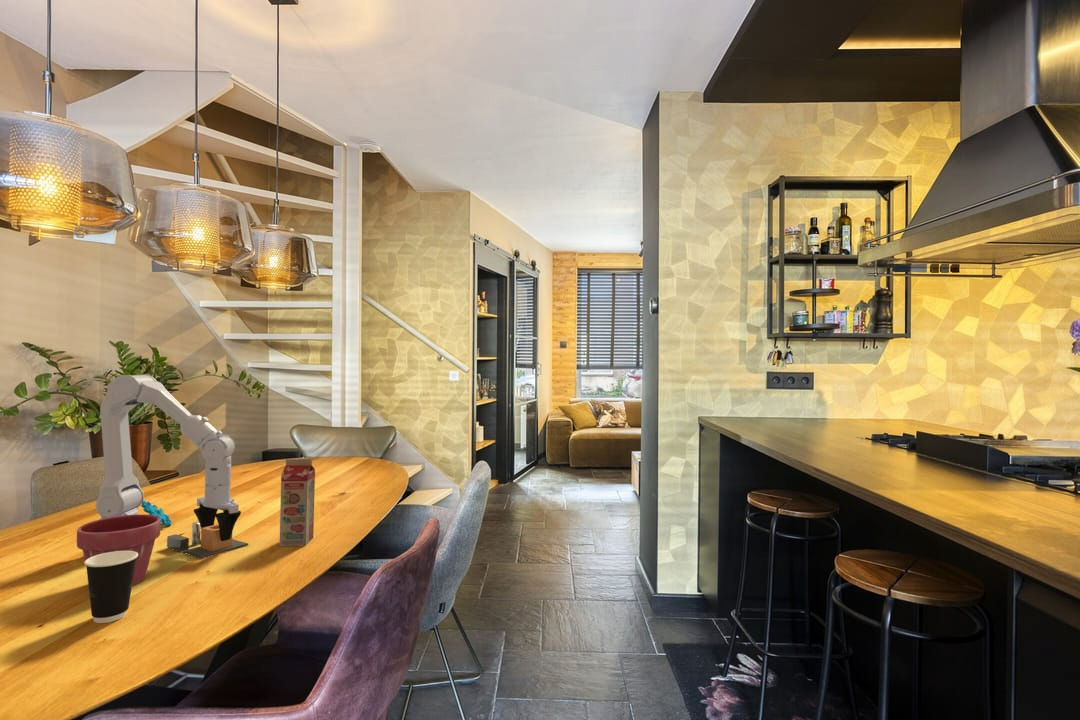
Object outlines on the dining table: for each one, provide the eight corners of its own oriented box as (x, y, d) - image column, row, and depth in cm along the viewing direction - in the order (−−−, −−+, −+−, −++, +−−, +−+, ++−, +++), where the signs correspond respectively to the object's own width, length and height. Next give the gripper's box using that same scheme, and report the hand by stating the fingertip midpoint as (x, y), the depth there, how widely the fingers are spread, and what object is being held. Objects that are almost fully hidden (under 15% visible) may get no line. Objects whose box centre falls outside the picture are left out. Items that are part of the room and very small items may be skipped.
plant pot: (62, 600, 110) (64, 535, 110) (90, 575, 123) (92, 516, 123) (148, 590, 115) (150, 528, 115) (166, 567, 128) (167, 512, 128)
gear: (168, 524, 156) (140, 500, 155) (149, 541, 154) (121, 517, 153) (178, 520, 166) (152, 497, 165) (161, 535, 164) (135, 512, 163)
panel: (201, 558, 134) (201, 556, 134) (182, 552, 138) (182, 550, 138) (248, 545, 145) (248, 543, 145) (229, 540, 148) (229, 538, 148)
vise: (180, 552, 138) (180, 530, 139) (166, 548, 141) (167, 526, 141) (230, 538, 150) (231, 518, 150) (217, 535, 153) (217, 515, 153)
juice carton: (287, 538, 151) (290, 457, 152) (313, 537, 152) (315, 457, 152) (279, 545, 145) (281, 461, 145) (305, 545, 145) (308, 461, 146)
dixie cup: (70, 624, 99) (72, 563, 100) (111, 606, 107) (113, 549, 107) (108, 629, 98) (110, 566, 98) (147, 610, 106) (148, 552, 106)
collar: (212, 551, 138) (213, 531, 138) (200, 547, 140) (201, 528, 140) (231, 545, 142) (232, 526, 142) (220, 542, 145) (220, 523, 145)
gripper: (250, 484, 142) (249, 538, 141) (216, 478, 149) (215, 529, 148) (223, 489, 135) (221, 545, 135) (189, 482, 142) (187, 535, 142)
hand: (216, 537), depth 141 cm, fingers open, 7 cm apart
